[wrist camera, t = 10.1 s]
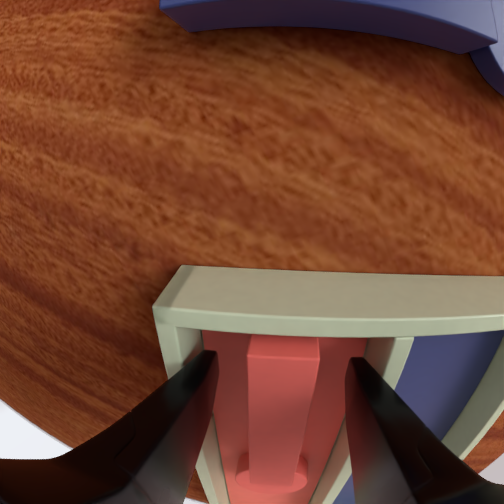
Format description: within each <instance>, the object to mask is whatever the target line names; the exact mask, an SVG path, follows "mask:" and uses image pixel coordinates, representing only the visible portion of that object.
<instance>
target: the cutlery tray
mask: <svg viewBox="0 0 504 504" xmlns="http://www.w3.org/2000/svg"><path fill="white" fill-rule="evenodd" d="M152 310H153V315H154V320H155V325H156V330H157V334H158V339H159V343H160V347H161V352H162V356H163V360H164V364H165V368H166V372H167V376H168V379H170V378H171V377H172V376H173V375H174V374H176V373H177V372H178V371H179V370H180V369H182V368H183V367H184V366H185V365H186V364H187V363H189V362H190V361H191V360H192V359H193V358H194V357H196V356H197V355H198V354H199V353H200V352H201V351H203V350H215V351H217V353H218V362H219V378H218V384H217V389H216V395H215V401H214V406H213V412H212V416H211V420H210V423H209V426H208V429H207V432H206V436H205V439H204V442H203V445H202V448H201V451H200V454H199V457H198V460H197V463H196V466H195V467H196V470H197V473H198V475H199V478H200V481H201V483H202V486H203V489H204V491H205V494H206V496H207V499H208V501H209V504H355V496H354V486H353V477H352V468H351V460H350V452H349V445H348V437H347V430H346V418H345V374H346V370H347V367H348V363H349V359H350V358H351V357H364V358H365V359H366V360H367V361H368V362H369V363H370V365H371V366H372V367H373V368H374V369H375V370H376V371H377V372H378V373H379V374H380V375H381V377H382V378H383V379H384V380H385V381H386V382H387V383H388V384H389V385H390V386H391V387H392V388H393V390H394V391H395V392H396V393H397V394H398V395H399V396H400V397H401V398H402V399H403V401H404V402H405V403H406V404H407V405H408V406H409V407H410V408H411V409H412V410H413V411H414V413H415V414H416V415H417V416H418V417H419V418H420V419H421V420H422V421H423V422H424V424H425V425H426V426H425V427H428V428H429V429H430V430H431V431H432V432H433V433H434V434H435V435H436V436H437V438H438V439H439V440H440V441H441V442H442V443H443V444H444V445H445V446H446V447H448V448H449V449H450V450H451V451H452V452H453V453H454V454H455V455H456V456H457V457H459V458H460V459H461V460H463V459H464V458H465V457H466V456H467V455H468V454H469V453H470V451H471V450H472V449H473V448H474V447H475V446H476V444H477V443H478V442H479V441H480V440H481V439H482V437H483V436H484V435H485V434H486V432H487V431H488V430H489V429H490V427H491V426H492V425H493V423H494V422H495V421H496V419H497V418H498V417H499V415H500V414H501V413H502V411H503V410H504V276H451V275H408V274H374V273H344V272H317V271H293V270H270V269H249V268H229V267H210V266H191V265H181V266H180V268H179V269H178V270H177V272H176V274H175V275H174V276H173V278H172V279H171V280H170V282H169V283H168V285H167V286H166V287H165V289H164V290H163V292H162V293H161V294H160V296H159V297H158V298H157V300H156V301H155V303H154V304H153V306H152ZM250 334H262V335H279V336H302V337H318V341H319V353H320V362H319V368H318V373H317V379H316V384H315V389H314V394H313V399H312V404H311V409H310V413H309V418H308V423H307V427H306V431H305V436H304V440H303V444H302V448H301V452H300V456H302V457H303V458H305V459H306V461H307V463H308V482H307V484H306V486H305V487H304V488H302V489H300V490H298V491H295V492H291V493H285V494H265V493H258V492H254V491H251V490H248V489H245V488H243V487H241V486H240V485H239V484H237V482H236V481H235V473H236V468H237V463H238V459H239V458H240V457H241V456H242V455H243V454H245V453H247V452H249V443H248V409H247V372H246V354H247V349H248V344H249V339H250Z"/></svg>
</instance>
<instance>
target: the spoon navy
mask: <svg viewBox="0 0 504 504" xmlns="http://www.w3.org/2000/svg"><path fill="white" fill-rule="evenodd" d="M159 9H160V10H161V11H162V12H163V13H165V14H166V15H167V16H169V17H170V18H171V19H172V20H174V21H175V22H176V23H178V24H179V25H180V26H181V27H183V28H184V29H185V30H186V31H187V32H196V31H204V30H214V29H224V28H238V27H262V26H292V27H315V28H329V29H339V30H349V31H357V32H364V33H371V34H377V35H383V36H388V37H393V38H398V39H403V40H408V41H412V42H416V43H421V44H425V45H428V46H432V47H436V48H439V49H443V50H446V51H450V52H453V53H456V54H463V53H466V52H469V53H470V55H471V58H472V60H473V62H474V63H475V65H476V67H477V69H478V70H479V72H480V73H481V75H482V76H483V77H484V79H485V80H486V81H487V82H488V83H489V84H490V85H491V86H492V87H493V88H494V89H495V90H496V91H497V92H499V93H500V94H502V95H503V96H504V0H160V3H159Z"/></svg>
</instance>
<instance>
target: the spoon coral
mask: <svg viewBox="0 0 504 504" xmlns="http://www.w3.org/2000/svg"><path fill="white" fill-rule="evenodd" d="M319 362H320V353H319V341H318V337H302V336H279V335H262V334H250V339H249V344H248V349H247V354H246V372H247V409H248V443H249V452H247V453H245V454H243V455H242V456H241V457H240V458H239V459H238V463H237V468H236V473H235V481H236V482H237V484H239V485H240V486H241V487H243V488H245V489H248V490H251V491H254V492H258V493H265V494H285V493H291V492H295V491H298V490H300V489H302V488H304V487H305V486H306V484H307V482H308V463H307V461H306V459H305V458H303V457H302V456H300V452H301V448H302V444H303V440H304V436H305V431H306V427H307V423H308V418H309V413H310V409H311V404H312V399H313V394H314V389H315V384H316V379H317V373H318V368H319Z"/></svg>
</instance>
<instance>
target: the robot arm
mask: <svg viewBox="0 0 504 504" xmlns="http://www.w3.org/2000/svg"><path fill="white" fill-rule="evenodd" d="M218 378H219V362H218V353H217V351H215V350H203V351H201V352H200V353H199V354H198V355H197V356H196V357H194V358H193V359H192V360H191V361H190V362H189V363H187V364H186V365H185V366H184V367H183V368H182V369H180V370H179V371H178V372H177V373H176V374H174V375H173V376H172V377H171V378H170V379H168V380H167V381H166V382H165V383H164V384H163V385H161V386H160V387H159V388H158V389H157V390H155V391H154V392H153V393H152V394H150V395H149V396H148V397H147V398H146V399H144V400H143V401H142V402H141V403H139V404H138V405H137V406H136V407H135V408H133V409H132V410H131V412H128V413H127V414H126V415H124V416H123V417H122V418H121V419H119V420H118V421H117V422H115V423H114V424H113V425H111V426H110V427H108V428H107V429H105V430H104V431H102V432H101V433H99V434H98V435H96V436H95V437H93V438H91V439H90V440H88V441H86V442H84V443H83V444H81V445H79V446H78V447H76V448H74V449H72V450H71V451H69V452H67V453H65V454H63V455H61V456H59V457H56V458H52V459H40V460H39V459H37V460H36V459H0V504H183V502H184V499H185V496H186V493H187V490H188V487H189V484H190V481H191V478H192V475H193V472H194V469H195V466H196V463H197V460H198V457H199V454H200V451H201V448H202V445H203V442H204V439H205V436H206V432H207V429H208V426H209V423H210V420H211V416H212V412H213V406H214V401H215V395H216V389H217V384H218ZM345 418H346V430H347V437H348V445H349V452H350V460H351V468H352V477H353V486H354V496H355V504H504V485H502V484H495V483H492V482H490V481H487V480H486V479H484V478H482V477H481V476H480V475H478V474H477V473H476V472H475V471H474V470H473V469H471V468H470V467H469V466H468V465H467V464H466V463H464V462H463V461H462V460H461V459H460V458H459V457H457V456H456V455H455V454H454V453H453V452H452V451H451V450H450V449H449V448H448V447H446V446H445V445H444V444H443V443H442V442H441V441H440V440H439V439H438V438H437V436H436V435H435V434H434V433H433V432H432V431H431V430H430V429H429V428H428V427H425V426H426V425H425V424H424V422H423V421H422V420H421V419H420V418H419V417H418V416H417V415H416V414H415V413H414V411H413V410H412V409H411V408H410V407H409V406H408V405H407V404H406V403H405V402H404V401H403V399H402V398H401V397H400V396H399V395H398V394H397V393H396V392H395V391H394V390H393V388H392V387H391V386H390V385H389V384H388V383H387V382H386V381H385V380H384V379H383V378H382V377H381V375H380V374H379V373H378V372H377V371H376V370H375V369H374V368H373V367H372V366H371V365H370V363H369V362H368V361H367V360H366V359H365V358H364V357H351V358H350V359H349V363H348V367H347V370H346V374H345Z"/></svg>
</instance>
